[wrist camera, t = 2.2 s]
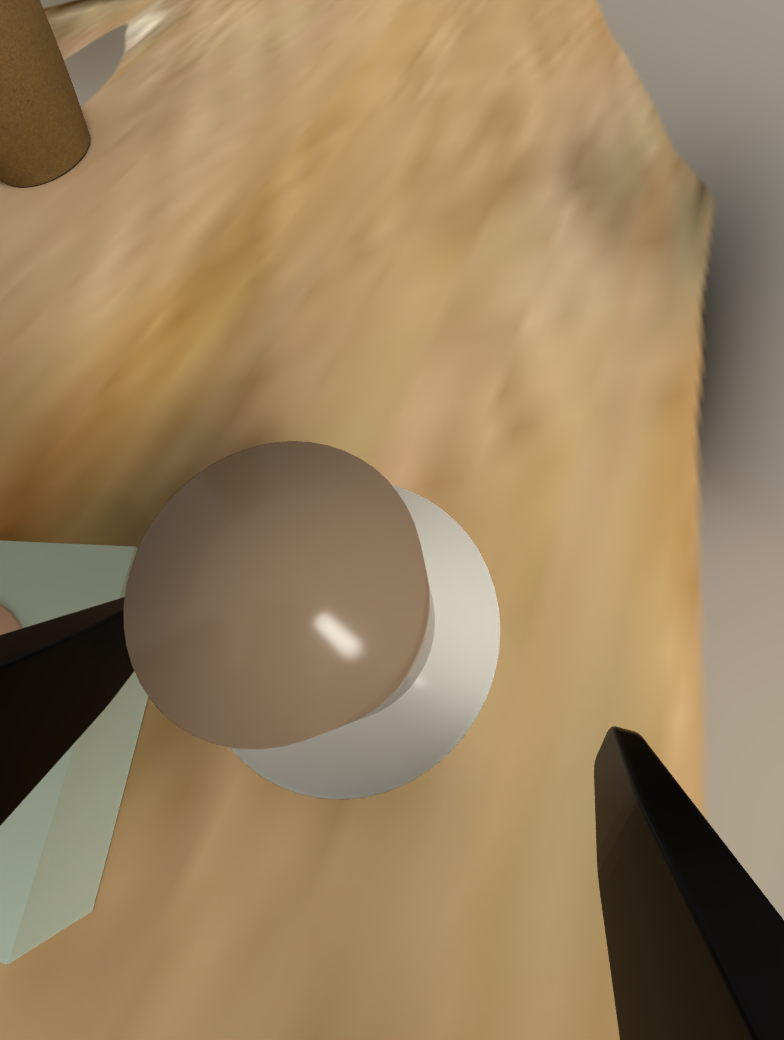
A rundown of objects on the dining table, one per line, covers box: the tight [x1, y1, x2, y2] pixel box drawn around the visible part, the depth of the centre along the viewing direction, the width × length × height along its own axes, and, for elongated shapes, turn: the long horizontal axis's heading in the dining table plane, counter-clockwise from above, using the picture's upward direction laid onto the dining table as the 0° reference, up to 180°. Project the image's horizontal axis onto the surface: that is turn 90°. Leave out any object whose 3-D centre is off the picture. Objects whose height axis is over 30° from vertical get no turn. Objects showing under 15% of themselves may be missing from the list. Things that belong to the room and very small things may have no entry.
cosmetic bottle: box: [124, 441, 500, 800], centre depth 10 cm, size 5×5×13 cm
